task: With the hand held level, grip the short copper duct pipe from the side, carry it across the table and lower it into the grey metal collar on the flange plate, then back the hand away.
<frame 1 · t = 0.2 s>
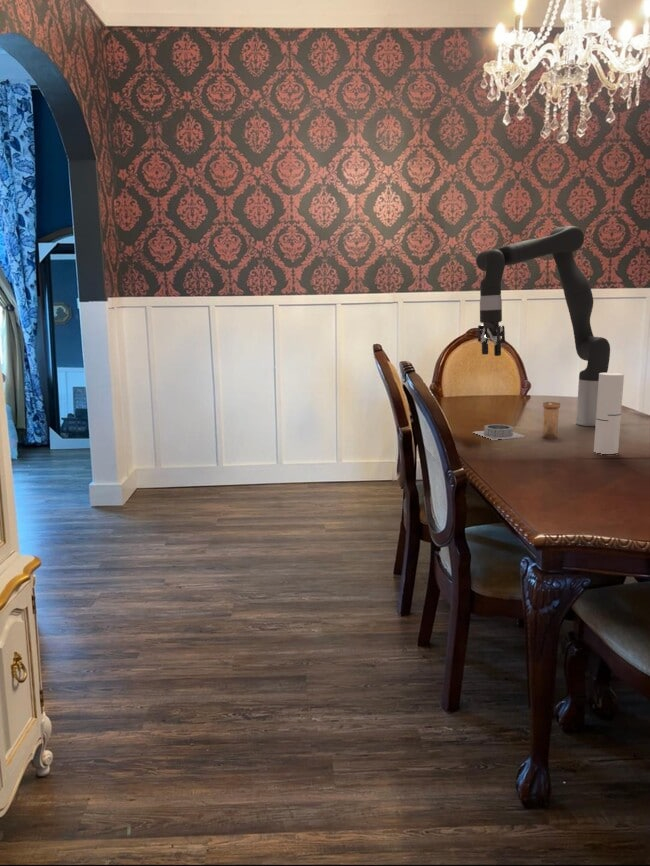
hand: (491, 355, 246), 28 cm above the table, tool pointing down, fingers open, 8 cm apart
cylindrical container: (605, 453, 220), on the table
duct collar: (498, 435, 247), on the table
copper duct pipe: (549, 437, 244), on the table
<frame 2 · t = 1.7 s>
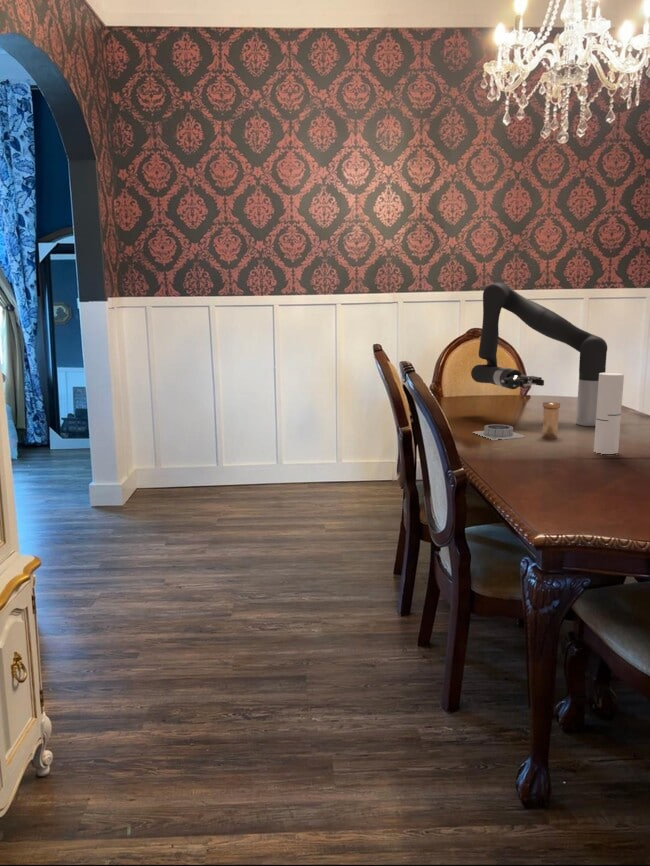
hand: (533, 383, 250), 18 cm above the table, tool horizontal, fingers open, 8 cm apart
nothing on the table moved.
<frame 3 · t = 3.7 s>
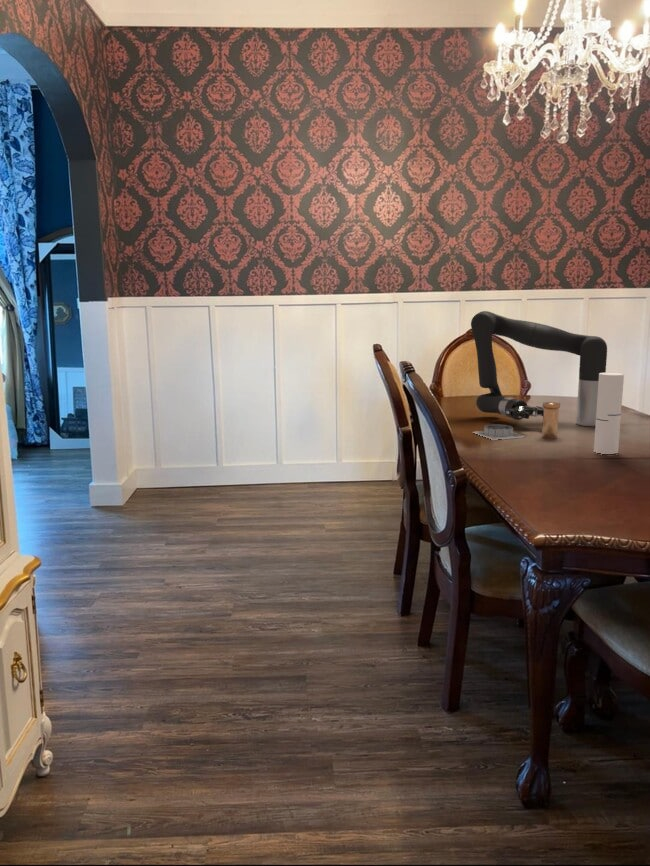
hand: (538, 415, 249), 7 cm above the table, tool horizontal, fingers open, 8 cm apart
nothing on the table moved.
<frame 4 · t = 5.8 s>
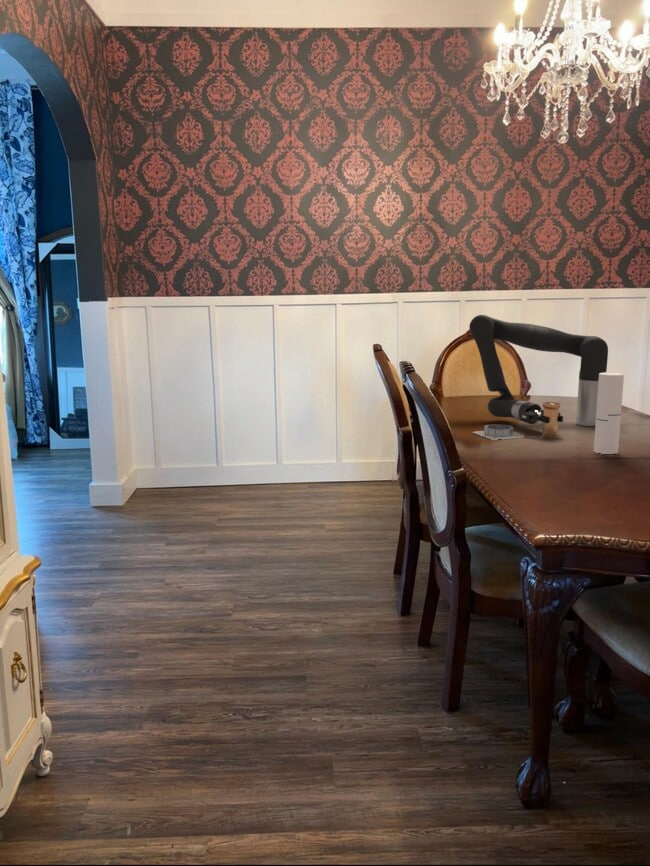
hand: (555, 419, 240), 7 cm above the table, tool horizontal, fingers closed on copper duct pipe, 5 cm apart
copper duct pipe: (549, 437, 244), on the table, touching gripper
everything else where it was.
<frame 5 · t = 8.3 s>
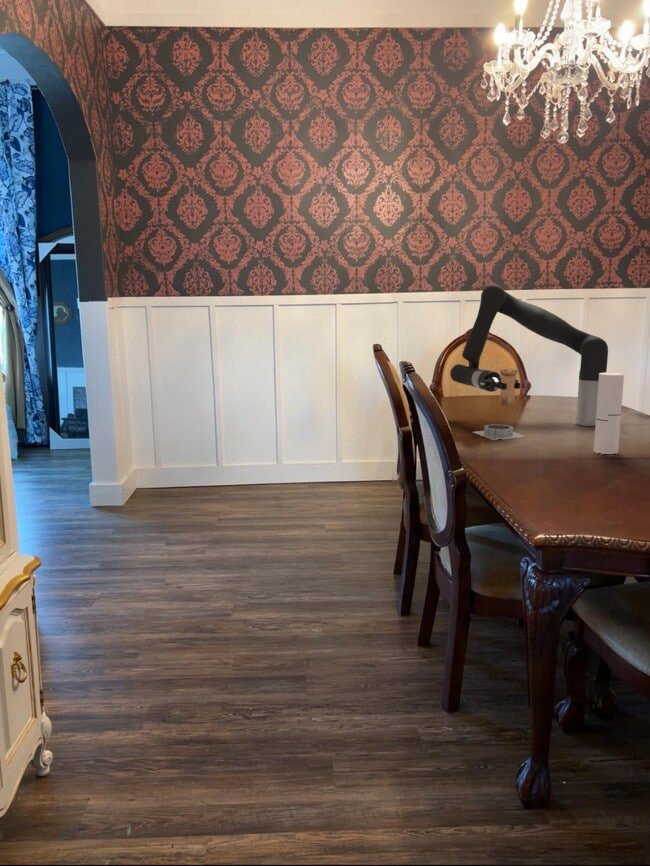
hand: (512, 386, 241), 18 cm above the table, tool horizontal, fingers closed on copper duct pipe, 5 cm apart
copper duct pipe: (507, 404, 244), point 11 cm above the table, touching gripper
everything else where it was.
when the fingers open (9 cm above the table, at t = 10.8 s): copper duct pipe drops 1 cm, resting on duct collar.
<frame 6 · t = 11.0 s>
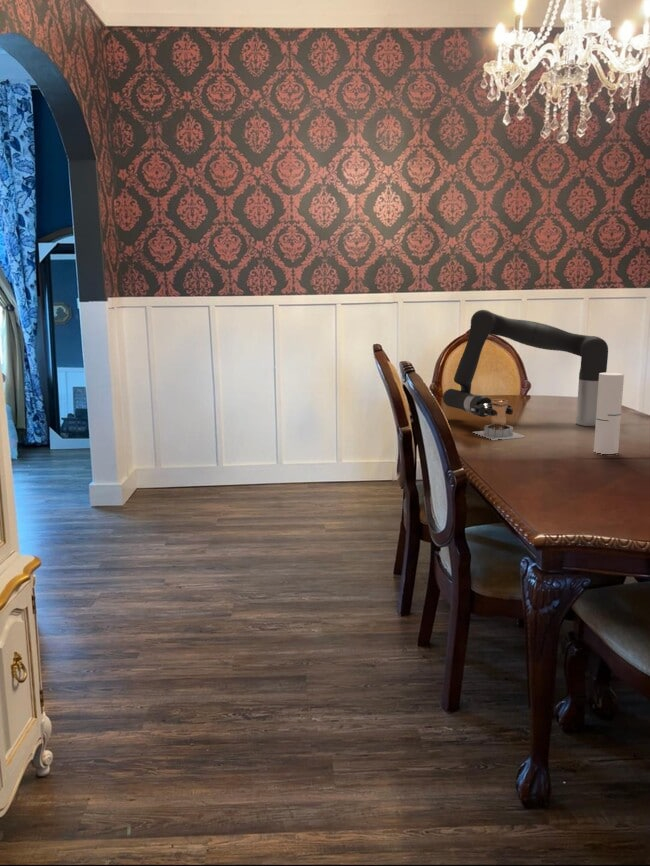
hand: (502, 412, 243), 9 cm above the table, tool horizontal, fingers open, 6 cm apart
copper duct pipe: (498, 433, 247), point 1 cm above the table, touching duct collar
everything else where it was.
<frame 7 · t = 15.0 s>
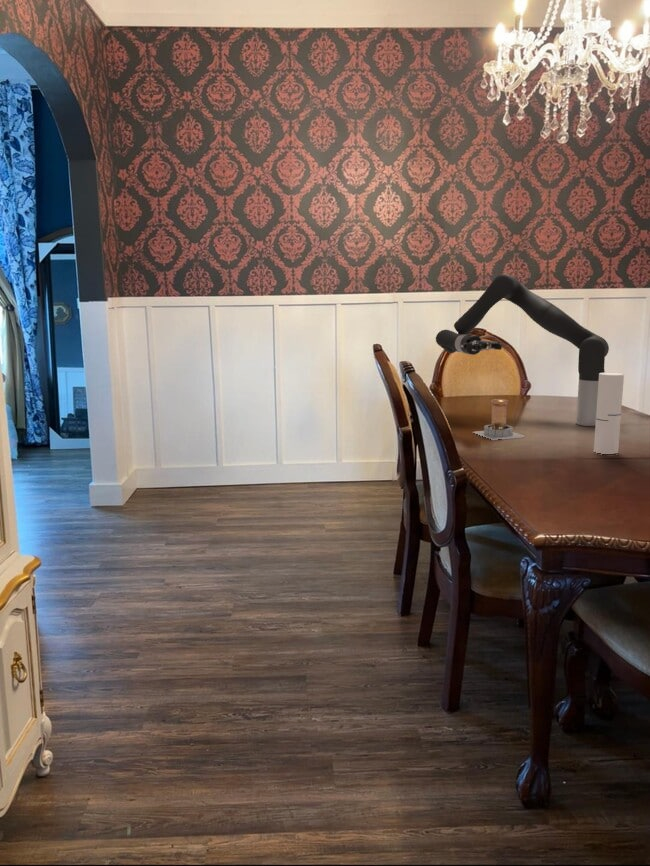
hand: (490, 347, 257), 30 cm above the table, tool horizontal, fingers open, 8 cm apart
nothing on the table moved.
at the end: copper duct pipe 0.1 cm off-centre on the duct collar, point 0.6 cm above the duct collar's base; copper duct pipe tilted 0°; the gripper is holding nothing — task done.
